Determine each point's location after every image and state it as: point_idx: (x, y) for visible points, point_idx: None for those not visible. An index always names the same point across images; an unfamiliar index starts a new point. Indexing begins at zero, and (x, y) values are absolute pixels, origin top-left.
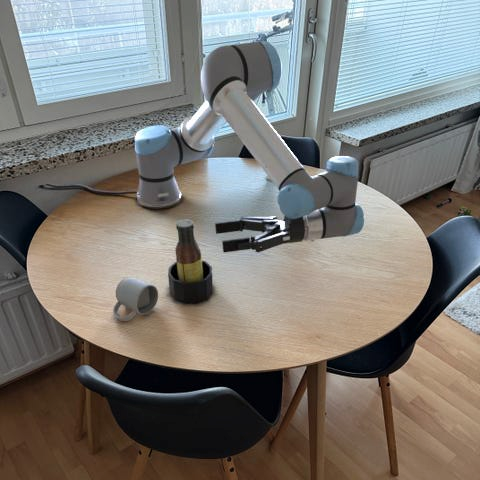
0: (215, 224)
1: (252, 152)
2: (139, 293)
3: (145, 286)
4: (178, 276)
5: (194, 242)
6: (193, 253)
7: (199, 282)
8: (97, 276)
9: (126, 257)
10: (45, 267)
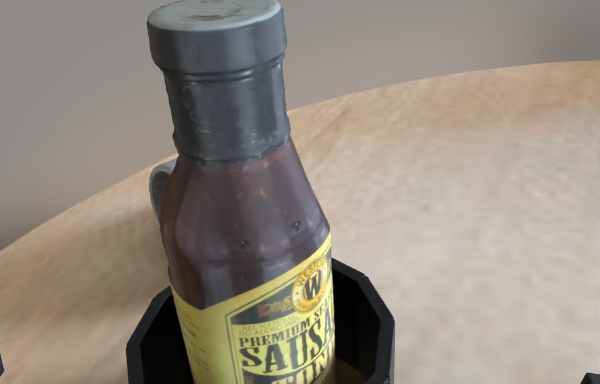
0: (586, 379)
1: None
2: (155, 167)
3: (172, 170)
4: (358, 345)
5: (189, 178)
6: (162, 222)
7: (128, 366)
8: (437, 157)
9: (572, 209)
10: (486, 83)
